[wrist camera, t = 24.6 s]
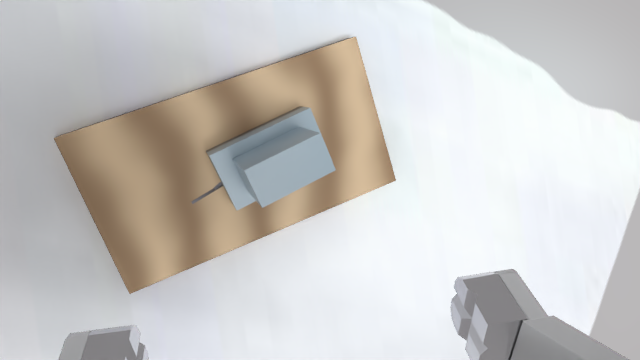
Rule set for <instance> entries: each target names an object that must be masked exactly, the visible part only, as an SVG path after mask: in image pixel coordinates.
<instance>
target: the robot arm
mask: <svg viewBox="0 0 640 360" xmlns="http://www.w3.org/2000/svg"><path fill="white" fill-rule="evenodd" d="M454 289H455V291H456V292H457V294H456V295H455V296H454V297H453V299H452V301H451V316H452V320H453V324H454V327H455V329H456V331H457V333H458V335H460V336H461V337H462V338H464V339H465V340H467V343H466V347H465V350H466V352H467V354H468V356H469V358H470V360H629V359H627V358H626V357H624V356H622V355H621V354H619V353H617V352H615V351H614V350H612V349H610V348H609V347H607V346H605V345H603V344H602V343H600V342H598V341H596V340H595V339H593V338H591V337H590V336H588V335H586V334H584V333H583V332H581V331H579V330H577V329H576V328H574V327H572V326H571V325H569V324H567V323H565V322H564V321H562V320H560V319H558V318H557V317H555V316H548V315H547V314H546V312H545V311H544V310H543V308H542V307H541V305H540V304H539V303H538V301H537V300H536V298H535V297H534V295H533V294H532V293H531V291H530V290H529V288H528V287H527V286H526V284H525V283H524V281H523V280H522V278H521V277H520V276H519V274H518V273H517V271H515V270H513V269H509V270H503V271H496V272H487V273H481V274H475V275H469V276H462V277H458V278H457V279H456V280H455V285H454ZM139 340H140V332H139V329H138V327H137V325H131V326H123V327H115V328H107V329H98V330H91V331H84V332H76V333H70V334H69V335H68V337H67V338H66V339H65V342H64V345H63V348H62V351H61V354H60V357H59V360H149V358H148V353H147V350H146V347H145V345H143V344H141V343H139Z"/></svg>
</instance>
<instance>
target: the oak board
mask: <svg viewBox="0 0 640 360" xmlns="http://www.w3.org/2000/svg"><path fill="white" fill-rule="evenodd" d="M299 106H302V107H309V108H311V111H312V113H313V116H314V118H315V120H316V123H317V125H318V128H319V130H320V132H321V135H322V137H323V140H324V142H325V144H326V147H327V149H328V152H329V154H330V156H331V159H332V161H333V165H334V167H335V169H336V170H335V171H333V172H331V173H329V174H327V175H325V176H323V177H322V178H320V179H318V180H316V181H314V182H312V183H310V184H308V185H306V186H304V187H302V188H300V189H298V190H296V191H294V192H292V193H290V194H288V195H287V196H285V197H283V198H281V199H279V200H277V201H275V202H273V203H271V204H269V205H267V206H265V207H263V208H262V207H261V206H260V205H259V204H258V202H257V201H255V202H253V203H251V204H249V205H247V206H245V207H243V208H241V209H239V210H236V208H235V207H234V205H233V204H232V202H231V200H230V198H229V196H228V194H227V192H226V190H225V188H224V186H223V184H222V182H221V180H220V178H219V176H218V174H217V172H216V170H215V168H214V166H213V165H212V163H211V161H210V159H209V157H208V155H207V153H206V150H209V149H211V148H213V147H215V146H217V145H219V144H221V143H223V142H225V141H228V140H230V139H232V138H234V137H236V136H238V135H240V134H242V133H244V132H247V131H249V130H251V129H253V128H255V127H257V126H259V125H261V124H263V123H266V122H268V121H270V120H272V119H274V118H276V117H278V116H280V115H282V114H285V113H287V112H289V111H291V110H293V109H295V108H297V107H299ZM54 140H55V142H56V144H57V146H58V148H59V150H60V152H61V154H62V156H63V158H64V160H65V162H66V164H67V166H68V169H69V171H70V173H71V175H72V177H73V179H74V181H75V183H76V185H77V187H78V189H79V191H80V193H81V195H82V197H83V199H84V201H85V203H86V205H87V207H88V210H89V212H90V214H91V216H92V218H93V220H94V222H95V224H96V226H97V228H98V230H99V232H100V234H101V236H102V238H103V240H104V242H105V244H106V246H107V248H108V250H109V253H110V255H111V257H112V259H113V261H114V263H115V265H116V267H117V269H118V271H119V273H120V275H121V277H122V279H123V281H124V283H125V285H126V287H127V289H128V291H129V293H130V294H131V293H133V292H135V291H138V290H140V289H142V288H145V287H147V286H149V285H152V284H154V283H156V282H159V281H161V280H163V279H166V278H168V277H170V276H173V275H175V274H178V273H180V272H182V271H185V270H187V269H189V268H192V267H194V266H196V265H199V264H201V263H203V262H206V261H208V260H210V259H213V258H215V257H217V256H220V255H222V254H224V253H227V252H229V251H231V250H234V249H236V248H239V247H241V246H243V245H246V244H248V243H250V242H253V241H255V240H257V239H260V238H262V237H264V236H267V235H269V234H271V233H274V232H276V231H278V230H281V229H283V228H285V227H288V226H290V225H292V224H295V223H297V222H300V221H302V220H304V219H307V218H309V217H311V216H314V215H316V214H318V213H321V212H323V211H325V210H328V209H330V208H332V207H335V206H337V205H339V204H342V203H344V202H346V201H349V200H351V199H353V198H356V197H358V196H360V195H363V194H365V193H368V192H370V191H372V190H375V189H377V188H379V187H382V186H384V185H386V184H389V183H391V182H393V181H396V179H395V176H394V172H393V168H392V165H391V161H390V158H389V154H388V150H387V147H386V143H385V140H384V136H383V132H382V129H381V125H380V122H379V118H378V114H377V111H376V107H375V104H374V100H373V96H372V93H371V89H370V86H369V82H368V78H367V75H366V71H365V68H364V64H363V60H362V57H361V53H360V50H359V46H358V42H357V39H356V37H353V38H349V39H346V40H343V41H340V42H337V43H334V44H331V45H328V46H325V47H322V48H319V49H316V50H313V51H310V52H307V53H304V54H301V55H298V56H295V57H292V58H289V59H286V60H283V61H280V62H277V63H274V64H271V65H268V66H265V67H263V68H260V69H257V70H254V71H251V72H248V73H245V74H242V75H239V76H236V77H233V78H230V79H227V80H224V81H221V82H218V83H215V84H212V85H209V86H206V87H203V88H200V89H197V90H194V91H191V92H188V93H185V94H182V95H179V96H176V97H173V98H170V99H167V100H164V101H161V102H158V103H156V104H153V105H150V106H147V107H144V108H141V109H138V110H135V111H132V112H129V113H126V114H123V115H120V116H117V117H114V118H111V119H108V120H105V121H102V122H99V123H96V124H93V125H90V126H87V127H84V128H81V129H78V130H75V131H72V132H69V133H66V134H63V135H60V136H58V137H56V138H54Z"/></svg>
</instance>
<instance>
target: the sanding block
mask: <svg viewBox="0 0 640 360" xmlns="http://www.w3.org/2000/svg"><path fill="white" fill-rule="evenodd" d="M206 153H207V155H208V157H209V159H210V161H211V163H212V165H213V166H214V168H215V170H216V172H217V174H218V176H219V178H220V180H221V182H222V184H223V186H224V188H225V190H226V192H227V194H228V196H229V198H230V200H231V202H232V204H233V205H234V207H235V208H236V210H239V209H241V208H243V207H245V206H247V205H249V204H251V203H253V202H255V201H257V202H258V204H259V205H260V206H261V207H262V208H263V207H265V206H267V205H269V204H271V203H273V202H275V201H277V200H279V199H281V198H283V197H285V196H287V195H288V194H290V193H292V192H294V191H296V190H298V189H300V188H302V187H304V186H306V185H308V184H310V183H312V182H314V181H316V180H318V179H320V178H322V177H323V176H325V175H327V174H329V173H331V172H333V171H335V170H336V169H335V167H334V165H333V161H332V159H331V156H330V154H329V152H328V149H327V147H326V144H325V142H324V140H323V137H322V135H321V132H320V130H319V128H318V125H317V123H316V120H315V118H314V116H313V113H312V111H311V108H309V107H302V106H299V107H297V108H295V109H293V110H291V111H289V112H287V113H285V114H282V115H280V116H278V117H276V118H274V119H272V120H270V121H268V122H266V123H263V124H261V125H259V126H257V127H255V128H253V129H251V130H249V131H247V132H244V133H242V134H240V135H238V136H236V137H234V138H232V139H230V140H228V141H225V142H223V143H221V144H219V145H217V146H215V147H213V148H211V149H209V150H206Z"/></svg>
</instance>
